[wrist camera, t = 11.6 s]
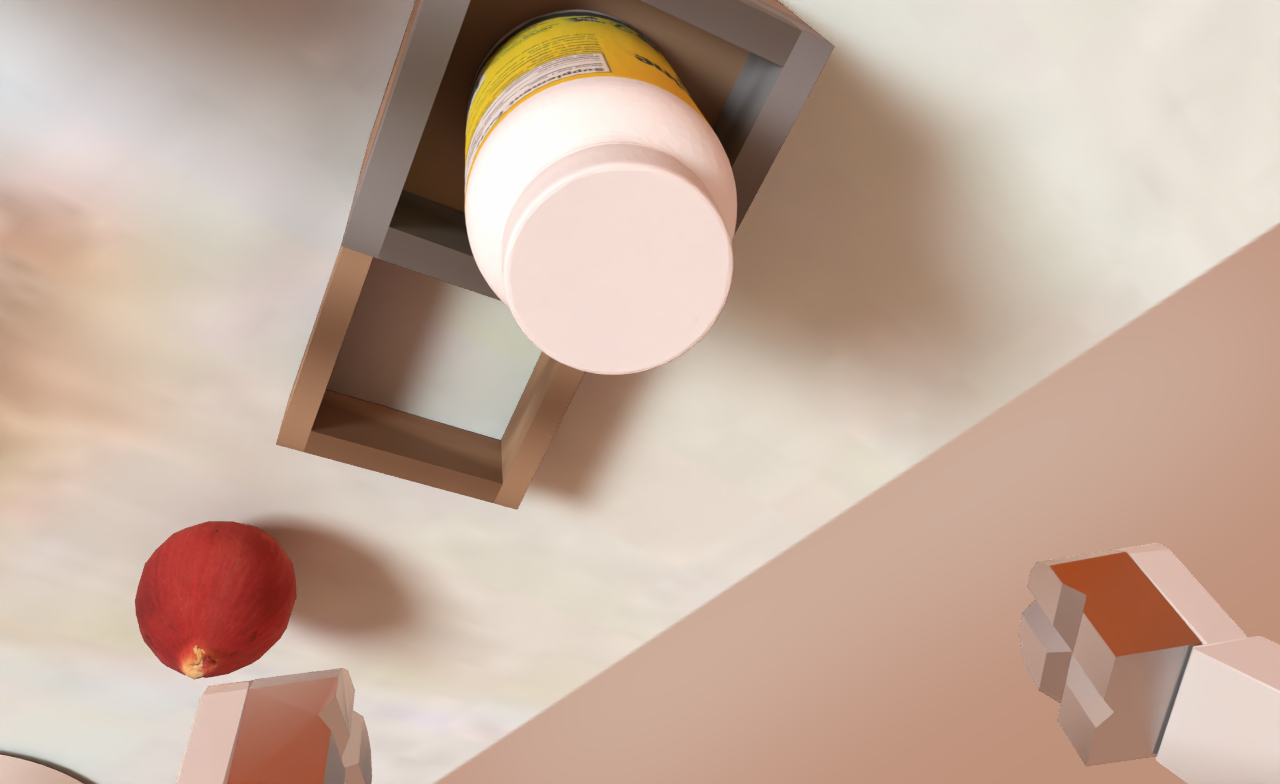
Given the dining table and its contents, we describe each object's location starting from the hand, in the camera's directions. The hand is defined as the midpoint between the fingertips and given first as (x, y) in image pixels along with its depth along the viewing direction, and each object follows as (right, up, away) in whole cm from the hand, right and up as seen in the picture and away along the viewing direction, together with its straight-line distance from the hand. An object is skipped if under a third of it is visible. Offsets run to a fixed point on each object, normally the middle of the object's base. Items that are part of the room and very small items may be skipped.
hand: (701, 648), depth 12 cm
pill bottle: (-3, +11, +18) cm, 21 cm away
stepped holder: (-6, +10, +25) cm, 28 cm away
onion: (-18, -3, +31) cm, 36 cm away
